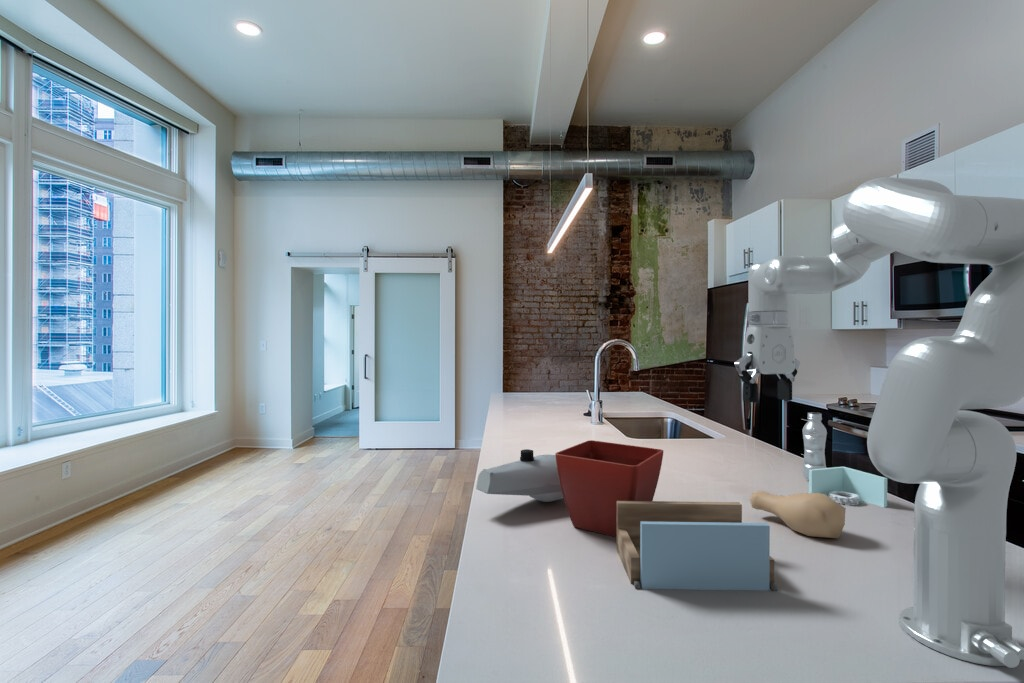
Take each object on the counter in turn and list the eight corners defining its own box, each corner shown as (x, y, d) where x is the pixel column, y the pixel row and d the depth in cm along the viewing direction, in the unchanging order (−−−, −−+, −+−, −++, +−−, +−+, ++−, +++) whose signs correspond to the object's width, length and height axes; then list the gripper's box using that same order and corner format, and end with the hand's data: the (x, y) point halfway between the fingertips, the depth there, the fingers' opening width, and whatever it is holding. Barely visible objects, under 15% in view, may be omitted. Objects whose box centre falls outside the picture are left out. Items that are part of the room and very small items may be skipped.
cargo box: (779, 594, 83) (779, 534, 83) (633, 592, 84) (633, 532, 84) (738, 552, 99) (738, 502, 99) (616, 550, 100) (616, 500, 100)
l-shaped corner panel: (808, 497, 134) (809, 469, 134) (843, 493, 138) (843, 466, 138) (850, 512, 123) (850, 482, 123) (887, 508, 126) (887, 478, 126)
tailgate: (769, 591, 83) (769, 525, 83) (641, 589, 84) (642, 524, 84) (766, 588, 85) (766, 523, 84) (640, 585, 85) (640, 521, 85)
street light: (554, 486, 143) (554, 438, 143) (594, 501, 131) (594, 447, 131) (464, 508, 125) (464, 452, 125) (500, 527, 113) (500, 465, 113)
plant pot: (664, 520, 117) (665, 448, 117) (636, 549, 101) (636, 465, 101) (589, 505, 127) (589, 439, 127) (552, 529, 111) (553, 453, 111)
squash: (829, 549, 101) (829, 505, 101) (739, 519, 118) (739, 481, 118) (856, 538, 106) (856, 496, 106) (766, 511, 123) (766, 474, 123)
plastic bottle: (805, 482, 148) (805, 414, 148) (799, 476, 155) (799, 411, 155) (830, 484, 146) (830, 415, 146) (823, 477, 153) (823, 412, 153)
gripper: (750, 319, 101) (751, 404, 101) (813, 320, 107) (813, 401, 107) (722, 320, 108) (723, 400, 108) (782, 322, 114) (782, 397, 114)
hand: (767, 400), depth 107 cm, fingers open, 9 cm apart
